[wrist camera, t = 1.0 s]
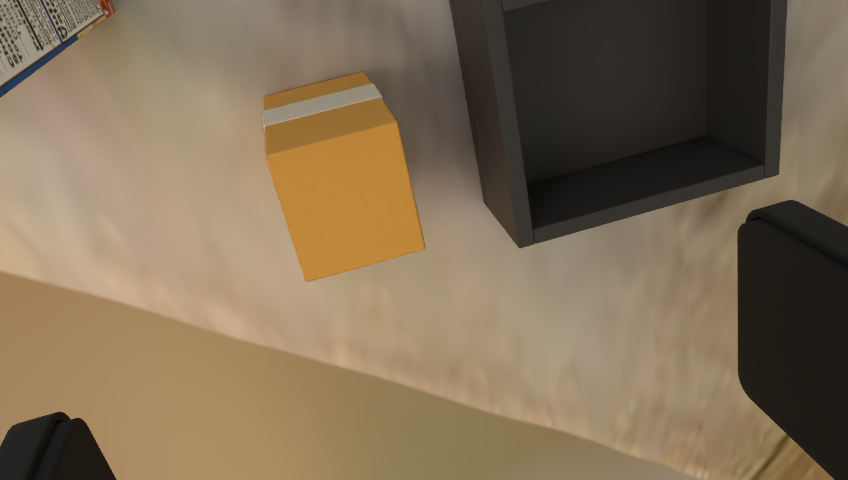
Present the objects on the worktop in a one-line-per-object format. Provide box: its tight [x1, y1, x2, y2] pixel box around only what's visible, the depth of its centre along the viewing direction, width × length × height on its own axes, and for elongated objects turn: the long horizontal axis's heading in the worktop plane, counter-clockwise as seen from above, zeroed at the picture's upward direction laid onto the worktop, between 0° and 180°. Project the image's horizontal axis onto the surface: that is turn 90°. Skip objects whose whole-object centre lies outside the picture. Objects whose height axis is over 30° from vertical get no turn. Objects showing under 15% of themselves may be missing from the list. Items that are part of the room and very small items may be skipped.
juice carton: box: [263, 72, 425, 282], centre depth 31 cm, size 6×5×9 cm
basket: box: [450, 0, 787, 248], centre depth 34 cm, size 14×12×6 cm
